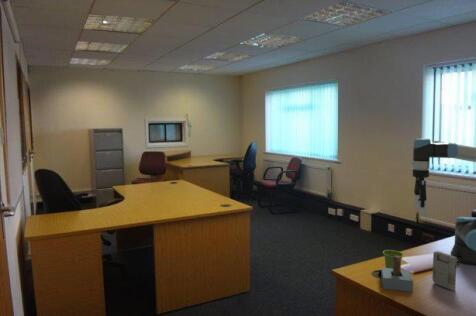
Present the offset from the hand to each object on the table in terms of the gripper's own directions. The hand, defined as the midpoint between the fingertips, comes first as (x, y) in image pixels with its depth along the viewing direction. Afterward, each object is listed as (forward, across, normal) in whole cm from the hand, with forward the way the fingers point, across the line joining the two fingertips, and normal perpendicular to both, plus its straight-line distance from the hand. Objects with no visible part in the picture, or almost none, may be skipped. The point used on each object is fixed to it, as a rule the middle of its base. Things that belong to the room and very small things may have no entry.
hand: (419, 210), depth 186 cm
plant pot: (+29, +11, -13) cm, 34 cm away
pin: (+28, +28, -13) cm, 41 cm away
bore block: (+29, +28, -13) cm, 42 cm away
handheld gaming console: (+29, +24, +7) cm, 38 cm away
